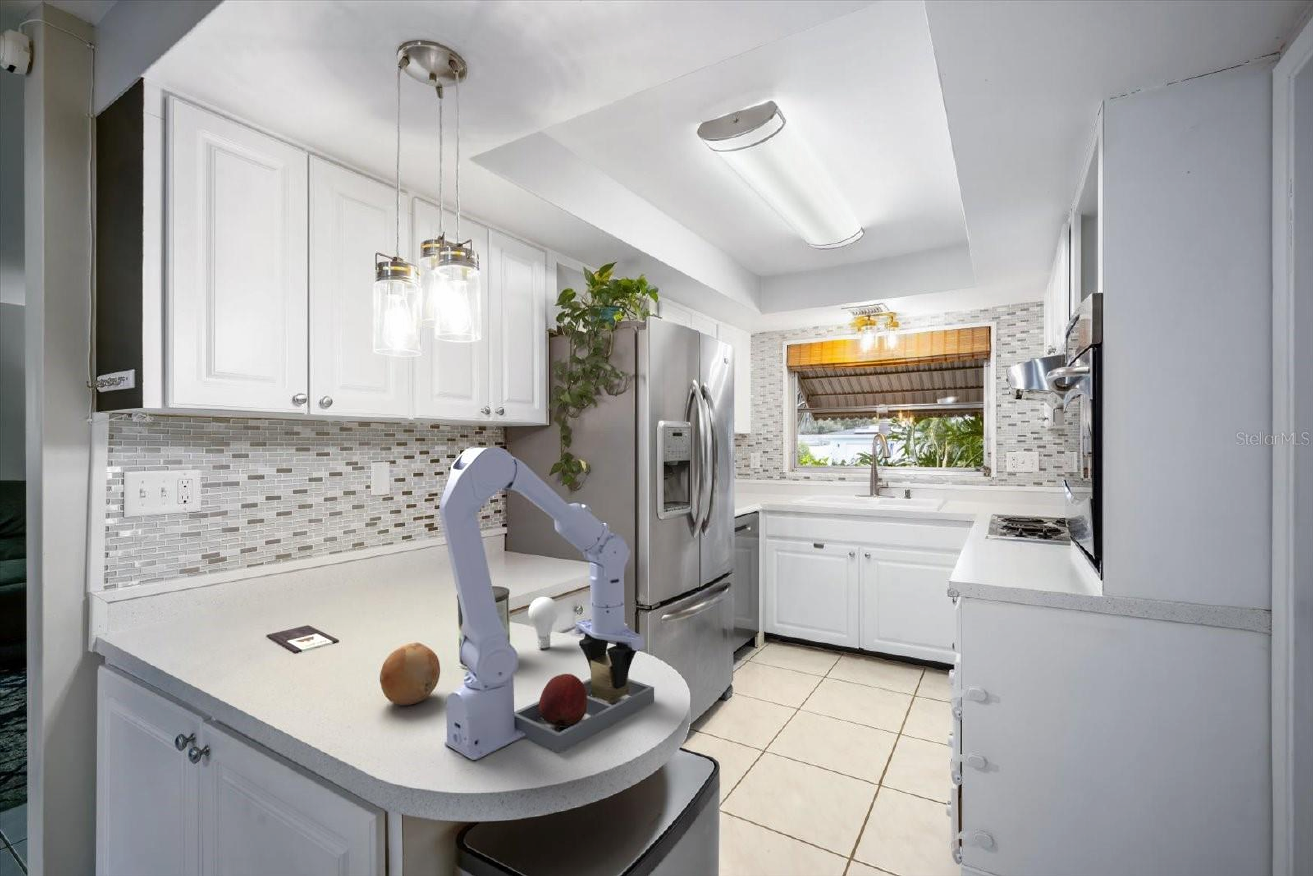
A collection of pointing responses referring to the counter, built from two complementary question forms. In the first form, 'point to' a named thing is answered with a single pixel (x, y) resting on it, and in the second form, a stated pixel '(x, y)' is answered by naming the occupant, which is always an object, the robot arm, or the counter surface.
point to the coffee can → (502, 609)
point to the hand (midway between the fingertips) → (609, 683)
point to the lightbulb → (543, 618)
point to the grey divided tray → (600, 720)
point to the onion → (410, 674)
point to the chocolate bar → (302, 639)
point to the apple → (563, 701)
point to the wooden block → (605, 680)
